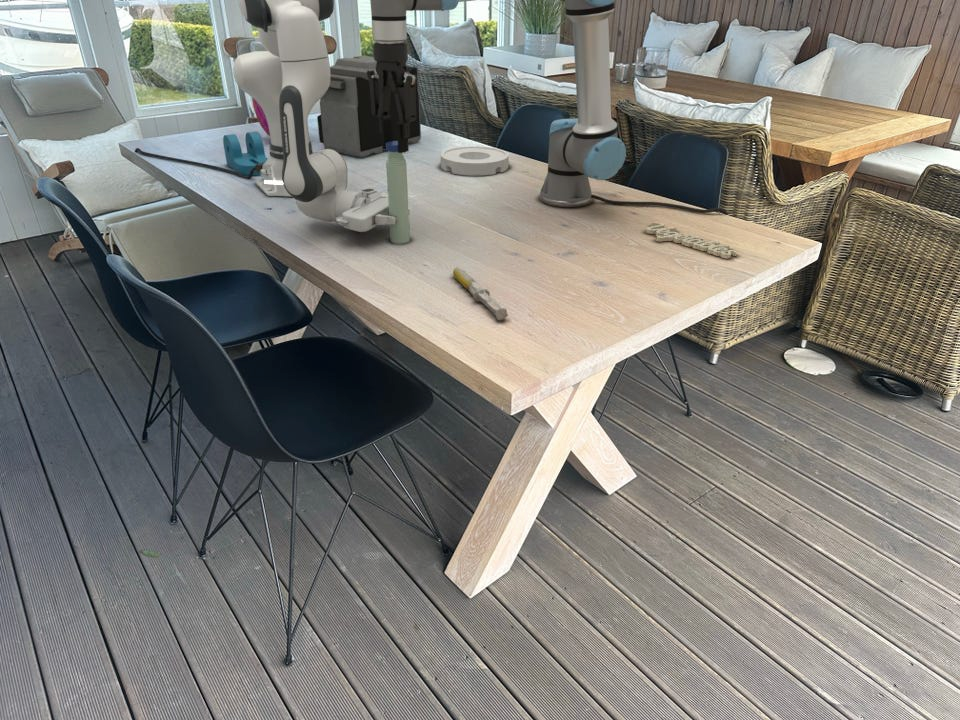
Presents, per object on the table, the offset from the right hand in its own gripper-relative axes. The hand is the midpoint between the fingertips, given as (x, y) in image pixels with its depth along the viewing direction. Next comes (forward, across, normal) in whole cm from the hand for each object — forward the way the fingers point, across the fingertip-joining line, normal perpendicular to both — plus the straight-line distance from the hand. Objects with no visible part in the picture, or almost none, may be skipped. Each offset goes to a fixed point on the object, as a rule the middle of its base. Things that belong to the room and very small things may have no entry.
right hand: (395, 149), depth 162 cm
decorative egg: (+22, +108, -52) cm, 122 cm away
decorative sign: (+22, -58, -43) cm, 76 cm away
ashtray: (+22, +28, -68) cm, 77 cm away
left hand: (+16, -1, 0) cm, 16 cm away
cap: (-1, 0, 0) cm, 1 cm away
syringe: (+22, -36, +15) cm, 45 cm away
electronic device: (+22, +76, -67) cm, 103 cm away
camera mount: (+22, +84, -19) cm, 89 cm away
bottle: (+22, 0, 0) cm, 22 cm away
